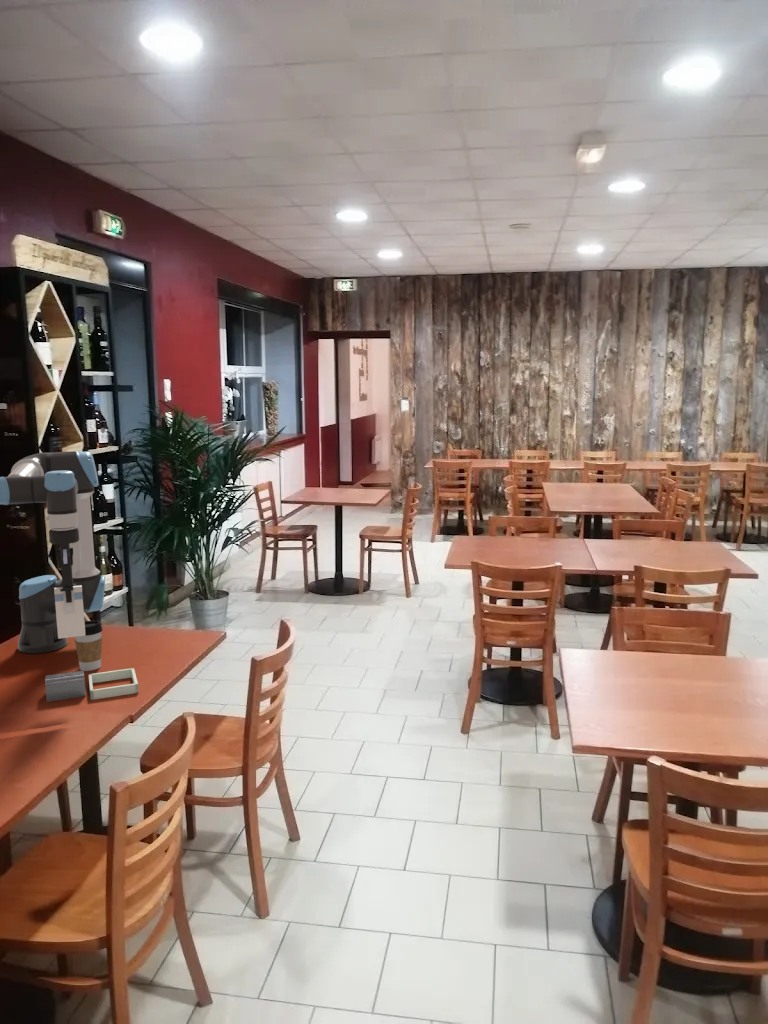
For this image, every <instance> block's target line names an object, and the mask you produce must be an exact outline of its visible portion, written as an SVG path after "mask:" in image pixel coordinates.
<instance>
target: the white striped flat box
mask: <svg viewBox="0 0 768 1024" xmlns="http://www.w3.org/2000/svg"><path fill="white" fill-rule="evenodd" d="M60 589H62V587H58V588H54V594H55V606H56V618H57V631H58V639H60V638H67V639H68V638H75V637H77V636H85V622H84V621H85V612H84V609H83V596H82V585H79V586H73V589H74V601H75V613H71V614H65V611H64V598H63V591H61V592H60Z"/></svg>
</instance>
